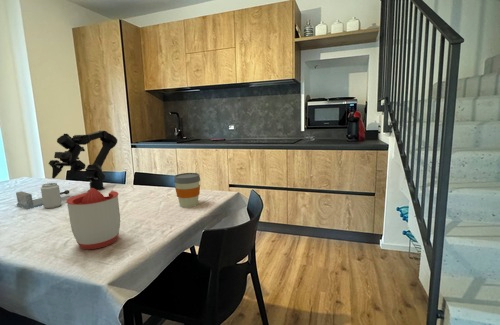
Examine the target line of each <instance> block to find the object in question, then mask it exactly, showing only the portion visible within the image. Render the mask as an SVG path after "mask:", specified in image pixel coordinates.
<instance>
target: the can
mask: <svg viewBox="0 0 500 325" xmlns="http://www.w3.org/2000/svg"><path fill="white" fill-rule="evenodd" d="M40 192H41V198H42V199H43V208H46V209H54V208H55V209H56V208H58V207H60V206H61V205H62V203H63V202H62V197H61V195H60V193H61V190H60V186H59V184H58V182H48V183H43V184H42V185H41V187H40Z"/></svg>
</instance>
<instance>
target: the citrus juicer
mask: <svg viewBox="0 0 500 325" xmlns="http://www.w3.org/2000/svg"><path fill="white" fill-rule="evenodd" d="M119 202H120V201H119V192H118V191H116V190H115V191H114V190H111V191H109V192H108V195H107V196H104V194H103V193H101V192H100V191H99V190H96V189H94V188H91V189H90V188H89V190H88V191H87V192H84V193H80V194H76V195H74V196H71V197H68V198H67V199H66V201H65V203H67V209H68V216H69V223H70V228H71V232H72V234H73V237H74V239H75V242H76V243H77V245H78V246H79V248H81V249H84V250H96V249H102V248H101V247H103V248H106V247H107V246H109V245H112V244H113V243H115V242H116V241H117V240H118V236H119V234H120V228H121V214H120V203H119ZM105 246H106V247H105Z"/></svg>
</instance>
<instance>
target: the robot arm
mask: <svg viewBox="0 0 500 325" xmlns="http://www.w3.org/2000/svg"><path fill="white" fill-rule="evenodd" d="M97 139H99V140H100V141H101V146H102V147H100V148H101V149H100V150H99V152H98V154H97V156H96V157H95V160H94V162H93V163H92V164H87V165H86V163H84V162H83V161H82V160H80V157H79V156H80V154H81V152H85V151H86V149H85V147H84V146H86V145H88V144H90V142H91V141H94V140H97ZM56 142H57V144H59V145H60V146H61V147H63V148H64V149H65V151H54V156H53V158H54V159H50V160H49V162H48V165H49V166H50V167H51V168H52V173H51V174H52V176H51V178H52V179H55V178H56V177H57V176H58V175H59V174H60V173H61V172H62V171H63V169H64V167H70V170H69V172H68V174H67V176H66V179H68V180H69V179H71V178H72V177H74V175H76V174H78V173H79V172H81V171H83V170H85V171H84V176H85V178H86V180H87V181H89V183H88V184H89V190H90V189H91V188H94V189H96V190H98V191H99V190H104V189H105V187H104V181H103V180H105V179H106V178H105V177H106V175H105V174H104V173H103V168H102V166H103V164H104V163H105V161H106V159H107V157H108V154H109V153H110V151H111V150H112V149H113V148H114V147H116V145H117V144H118V139H117V137H116V136H114V135H113V134H111V133H109V132H108V131H106V130H97V131H95V132H91V133H87V134H74V135H73V136H72V137H71V136H70V135H69V134H68V133H63V134H62V135H60V136H59V137H58V138H56Z"/></svg>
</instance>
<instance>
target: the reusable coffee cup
mask: <svg viewBox="0 0 500 325" xmlns="http://www.w3.org/2000/svg"><path fill="white" fill-rule="evenodd" d="M200 181H201V176H200V173H197V172H183V173H178V174H175V175H174V180H173V182H174V183H175V184H174V185H175V194H176V197H177V198H178V203H179V206H180V207H181V208H193V207H195V206H198V205H199V196H200V191H201V184H200Z"/></svg>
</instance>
